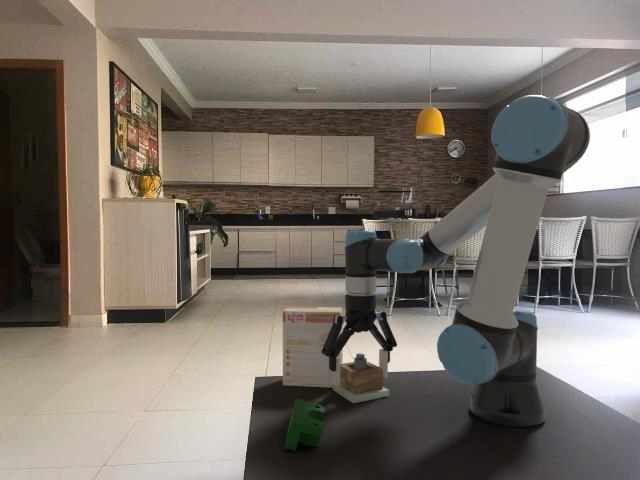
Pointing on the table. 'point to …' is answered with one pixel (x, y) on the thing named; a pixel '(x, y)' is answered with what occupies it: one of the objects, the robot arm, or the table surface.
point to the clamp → (305, 424)
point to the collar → (361, 378)
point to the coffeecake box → (307, 346)
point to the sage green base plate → (360, 364)
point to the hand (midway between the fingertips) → (360, 380)
